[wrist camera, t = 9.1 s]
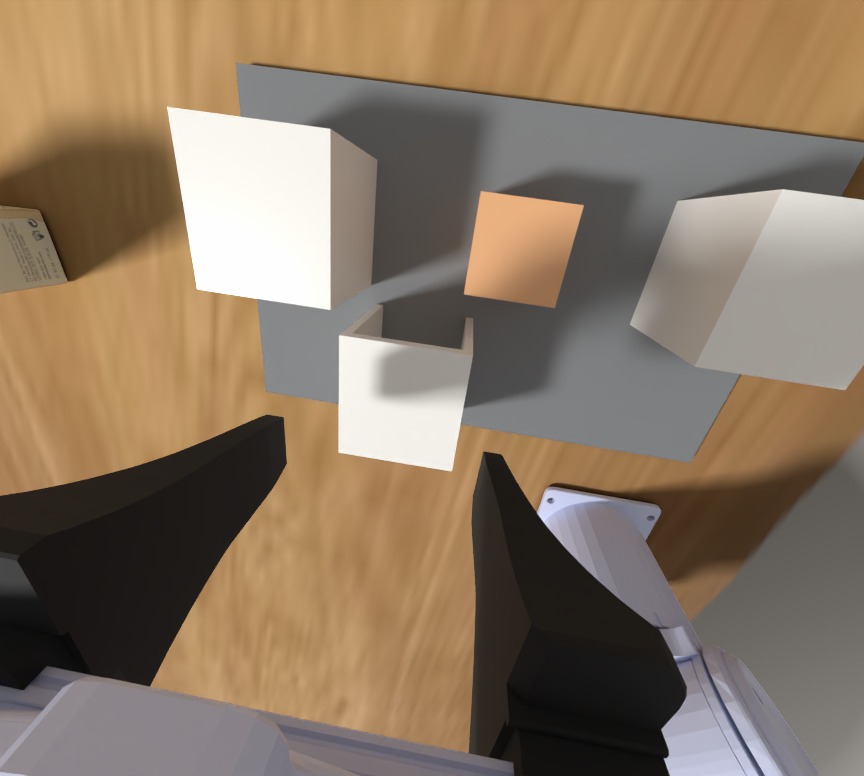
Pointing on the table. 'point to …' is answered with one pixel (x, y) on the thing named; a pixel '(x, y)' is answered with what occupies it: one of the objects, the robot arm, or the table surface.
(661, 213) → the mat
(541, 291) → the cube
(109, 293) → the table surface
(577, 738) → the robot arm
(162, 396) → the table surface
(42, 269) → the skincare box
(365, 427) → the white u-channel shell
